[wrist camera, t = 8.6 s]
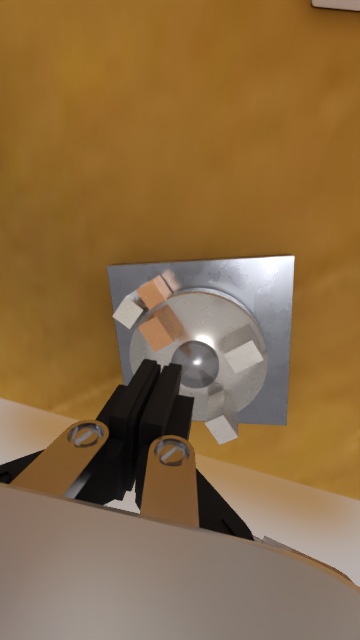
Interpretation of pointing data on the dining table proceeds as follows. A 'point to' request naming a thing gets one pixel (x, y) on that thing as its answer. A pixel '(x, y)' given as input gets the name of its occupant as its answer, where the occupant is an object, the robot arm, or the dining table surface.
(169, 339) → the round disc with cubes
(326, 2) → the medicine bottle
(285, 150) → the dining table surface
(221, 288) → the base plate
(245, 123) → the dining table surface
